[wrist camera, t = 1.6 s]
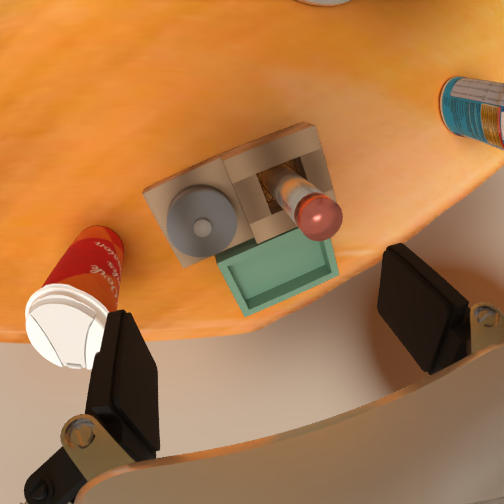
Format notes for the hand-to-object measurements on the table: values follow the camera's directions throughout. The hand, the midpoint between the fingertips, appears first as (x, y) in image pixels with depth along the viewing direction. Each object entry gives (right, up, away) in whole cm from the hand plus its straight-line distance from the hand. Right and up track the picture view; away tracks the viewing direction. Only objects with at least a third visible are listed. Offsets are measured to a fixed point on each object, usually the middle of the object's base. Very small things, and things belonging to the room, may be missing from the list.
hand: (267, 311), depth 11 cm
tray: (+2, +1, +25) cm, 26 cm away
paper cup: (-17, +3, +20) cm, 26 cm away
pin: (+2, +10, +21) cm, 23 cm away
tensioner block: (-2, +8, +21) cm, 22 cm away
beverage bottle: (+26, +21, +21) cm, 40 cm away
